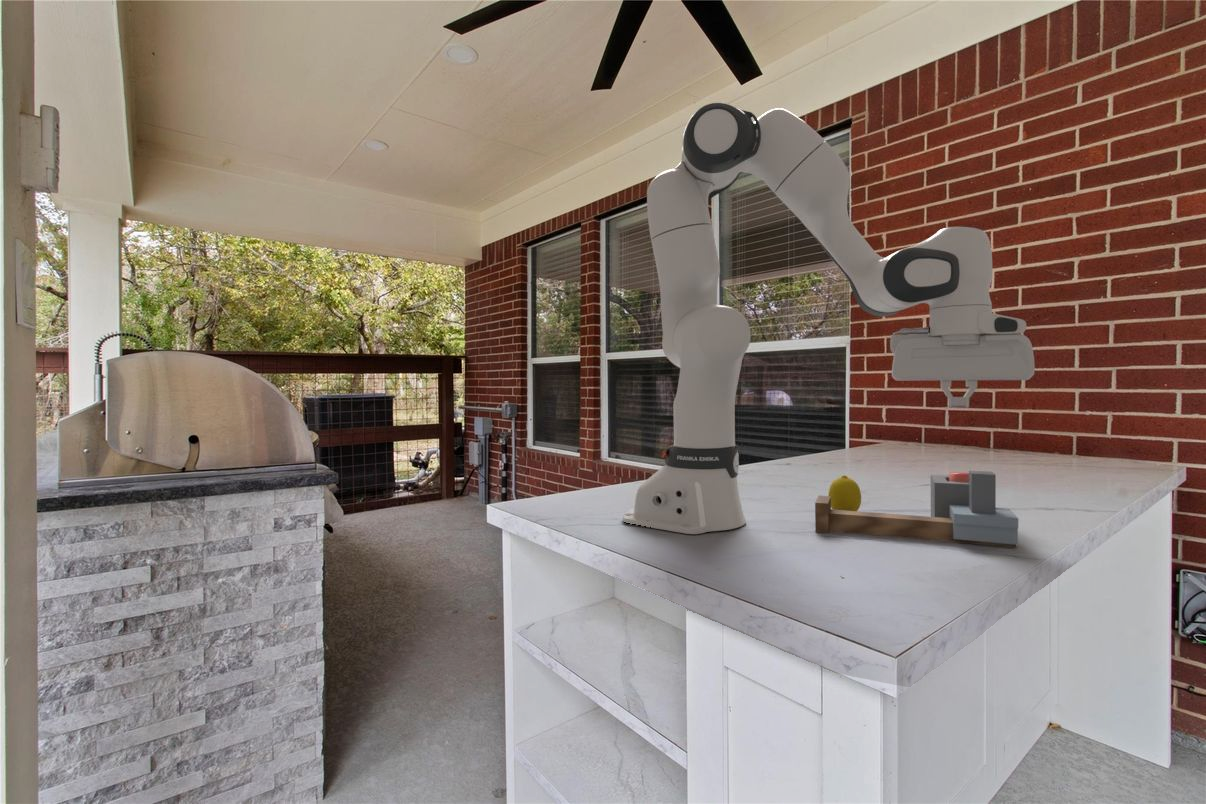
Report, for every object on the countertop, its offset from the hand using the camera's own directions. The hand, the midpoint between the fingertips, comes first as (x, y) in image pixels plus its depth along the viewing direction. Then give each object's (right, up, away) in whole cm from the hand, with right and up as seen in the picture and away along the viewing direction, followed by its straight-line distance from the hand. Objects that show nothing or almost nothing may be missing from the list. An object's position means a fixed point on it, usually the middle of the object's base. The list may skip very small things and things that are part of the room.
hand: (958, 407), depth 94 cm
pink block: (+1, -17, +1) cm, 17 cm away
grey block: (+1, -20, +1) cm, 20 cm away
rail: (-10, -21, -4) cm, 23 cm away
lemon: (-16, -21, +8) cm, 27 cm away
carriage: (-2, -21, -8) cm, 22 cm away
